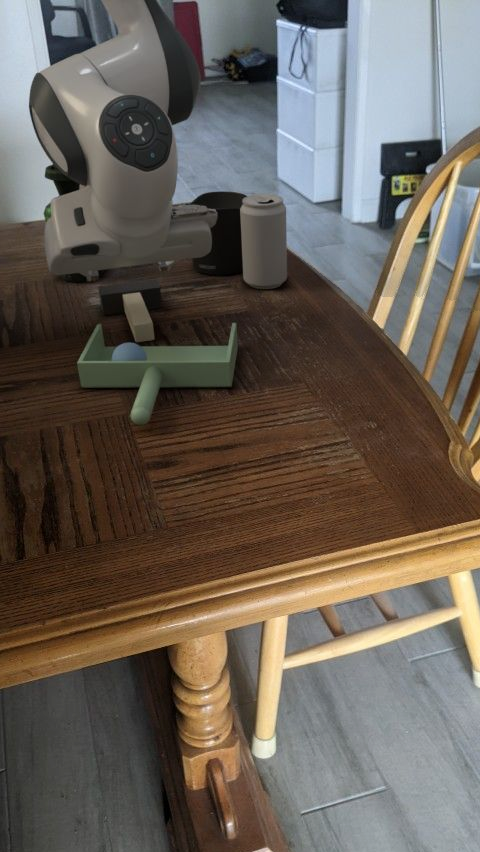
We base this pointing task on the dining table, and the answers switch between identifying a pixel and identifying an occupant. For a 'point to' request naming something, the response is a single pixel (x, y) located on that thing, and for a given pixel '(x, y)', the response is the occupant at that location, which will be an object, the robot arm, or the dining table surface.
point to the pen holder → (222, 234)
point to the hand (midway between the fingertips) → (128, 271)
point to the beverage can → (264, 240)
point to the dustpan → (157, 369)
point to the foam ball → (129, 353)
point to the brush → (133, 305)
